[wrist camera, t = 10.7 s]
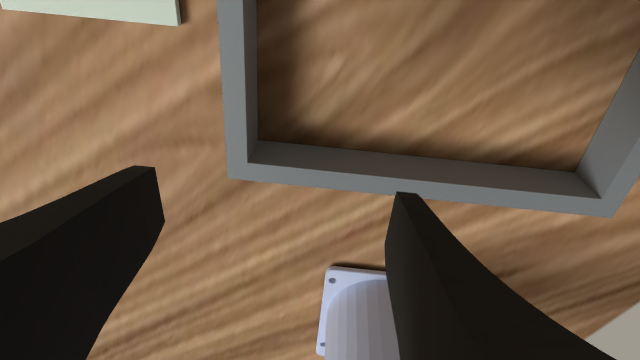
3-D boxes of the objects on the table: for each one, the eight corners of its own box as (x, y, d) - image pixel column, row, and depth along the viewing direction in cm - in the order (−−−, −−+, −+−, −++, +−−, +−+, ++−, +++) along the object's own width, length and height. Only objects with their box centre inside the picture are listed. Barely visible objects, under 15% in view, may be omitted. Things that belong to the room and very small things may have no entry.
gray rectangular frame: (584, 189, 20) (612, 217, 18) (240, 154, 20) (227, 178, 18) (753, -110, 13) (830, -121, 11) (227, -159, 13) (205, -179, 11)
